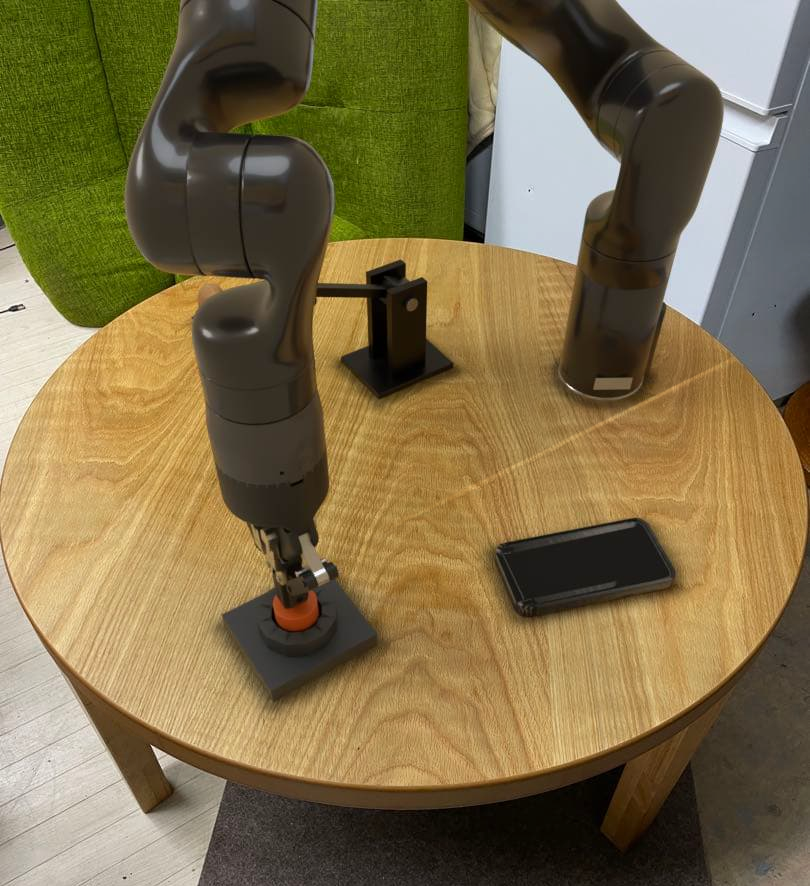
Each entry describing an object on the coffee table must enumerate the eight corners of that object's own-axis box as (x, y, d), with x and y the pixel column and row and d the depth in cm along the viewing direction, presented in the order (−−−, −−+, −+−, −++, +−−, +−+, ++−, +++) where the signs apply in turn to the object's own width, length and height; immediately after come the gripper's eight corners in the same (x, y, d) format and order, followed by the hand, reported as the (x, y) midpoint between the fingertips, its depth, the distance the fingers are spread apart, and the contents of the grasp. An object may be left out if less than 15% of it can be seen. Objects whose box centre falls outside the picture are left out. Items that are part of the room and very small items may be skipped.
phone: (492, 544, 80) (643, 515, 82) (491, 552, 80) (641, 523, 83) (520, 612, 75) (680, 579, 77) (519, 620, 75) (677, 587, 78)
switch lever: (303, 313, 82) (309, 290, 81) (278, 288, 85) (283, 265, 84) (416, 313, 91) (423, 292, 90) (390, 291, 94) (397, 270, 92)
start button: (305, 590, 74) (303, 577, 72) (326, 619, 72) (325, 606, 70) (267, 609, 72) (265, 596, 71) (288, 639, 70) (286, 626, 69)
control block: (324, 576, 79) (321, 551, 76) (377, 645, 74) (376, 621, 71) (224, 626, 75) (217, 601, 72) (273, 702, 70) (268, 679, 68)
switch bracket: (378, 403, 94) (376, 310, 85) (341, 365, 99) (334, 273, 90) (453, 371, 98) (458, 279, 89) (413, 335, 102) (414, 244, 93)
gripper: (175, 406, 60) (215, 565, 73) (264, 526, 52) (291, 679, 66) (272, 369, 62) (294, 529, 76) (369, 478, 55) (375, 634, 68)
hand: (293, 598), depth 71 cm, fingers closed
